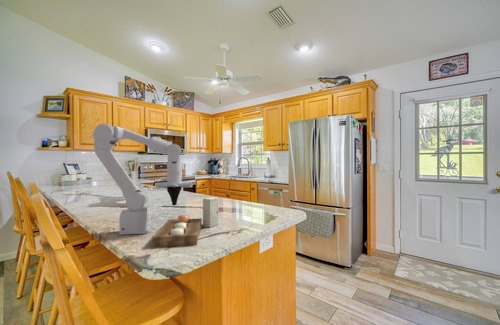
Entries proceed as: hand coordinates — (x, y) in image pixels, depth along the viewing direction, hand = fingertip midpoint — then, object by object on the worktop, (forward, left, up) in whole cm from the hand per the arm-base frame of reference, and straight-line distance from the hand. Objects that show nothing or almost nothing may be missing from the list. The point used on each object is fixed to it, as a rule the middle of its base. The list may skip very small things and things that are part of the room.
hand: (174, 204), depth 91 cm
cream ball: (+4, -9, -10) cm, 14 cm away
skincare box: (+15, +2, -10) cm, 18 cm away
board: (+4, -9, -10) cm, 14 cm away
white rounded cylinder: (+4, -16, -10) cm, 19 cm away
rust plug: (+4, -2, -8) cm, 9 cm away
